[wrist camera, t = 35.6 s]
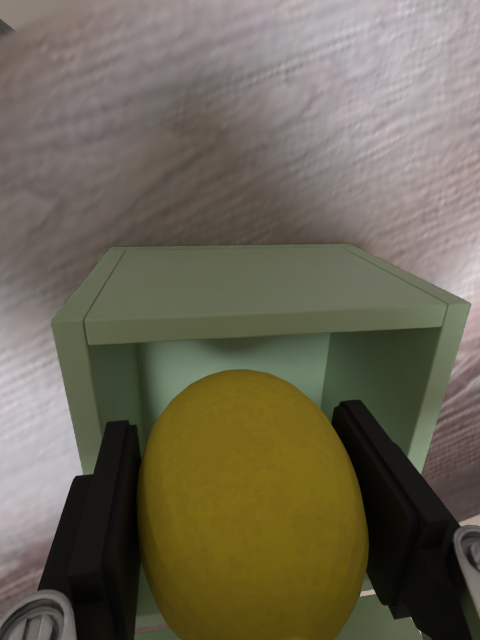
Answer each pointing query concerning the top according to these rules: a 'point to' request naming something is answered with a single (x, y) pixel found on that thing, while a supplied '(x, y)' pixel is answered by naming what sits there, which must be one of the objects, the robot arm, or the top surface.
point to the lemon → (250, 513)
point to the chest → (255, 339)
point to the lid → (346, 625)
